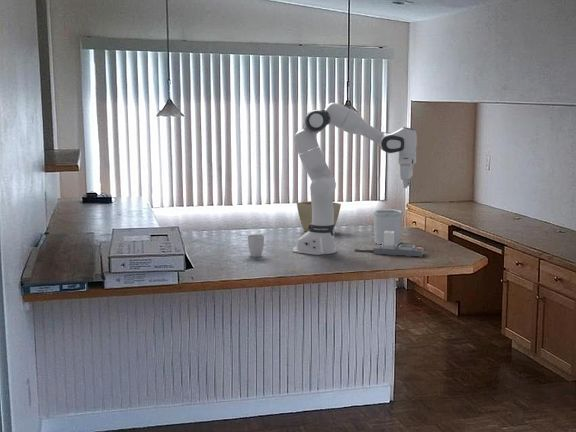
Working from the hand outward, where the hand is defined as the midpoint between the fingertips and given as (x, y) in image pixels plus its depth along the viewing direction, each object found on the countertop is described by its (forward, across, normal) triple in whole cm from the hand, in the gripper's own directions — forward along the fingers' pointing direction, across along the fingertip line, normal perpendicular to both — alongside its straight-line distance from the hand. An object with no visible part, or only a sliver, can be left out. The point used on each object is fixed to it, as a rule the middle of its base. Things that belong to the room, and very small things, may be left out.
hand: (406, 187), depth 360 cm
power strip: (+33, +8, -7) cm, 35 cm away
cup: (+33, +34, -69) cm, 84 cm away
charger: (+30, +8, -7) cm, 32 cm away
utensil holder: (+33, -18, -12) cm, 40 cm away
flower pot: (+33, -40, -56) cm, 76 cm away
